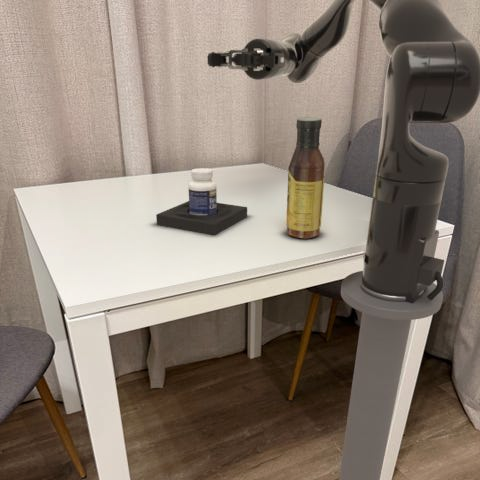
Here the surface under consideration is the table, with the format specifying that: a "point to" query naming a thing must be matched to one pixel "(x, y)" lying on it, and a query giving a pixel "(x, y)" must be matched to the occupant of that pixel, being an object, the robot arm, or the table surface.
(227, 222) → the dock pad
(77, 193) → the table surface
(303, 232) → the sauce bottle
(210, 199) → the pill bottle
